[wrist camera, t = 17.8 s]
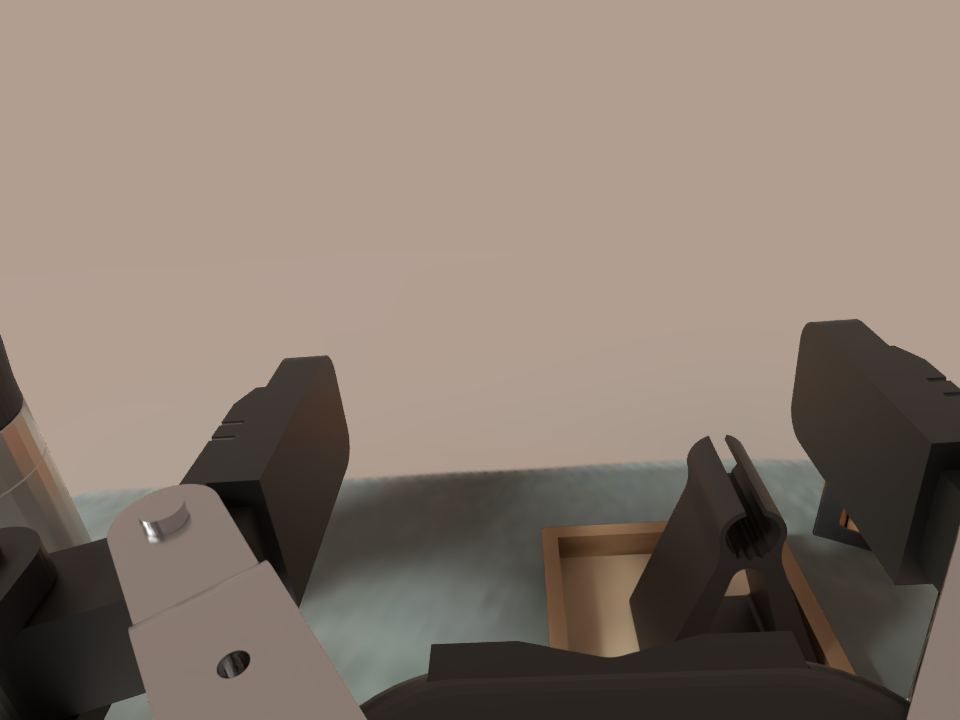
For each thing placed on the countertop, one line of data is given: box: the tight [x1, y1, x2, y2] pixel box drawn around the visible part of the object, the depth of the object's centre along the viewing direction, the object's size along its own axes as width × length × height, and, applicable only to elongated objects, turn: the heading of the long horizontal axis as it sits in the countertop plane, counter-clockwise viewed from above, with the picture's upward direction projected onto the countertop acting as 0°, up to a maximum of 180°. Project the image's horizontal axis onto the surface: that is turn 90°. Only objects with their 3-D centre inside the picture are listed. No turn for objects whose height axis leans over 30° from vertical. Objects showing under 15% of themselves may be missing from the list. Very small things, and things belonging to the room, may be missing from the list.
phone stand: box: [629, 435, 817, 663], centre depth 35 cm, size 9×6×12 cm, turn 88°
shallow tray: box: [542, 521, 856, 675], centre depth 39 cm, size 15×15×3 cm
